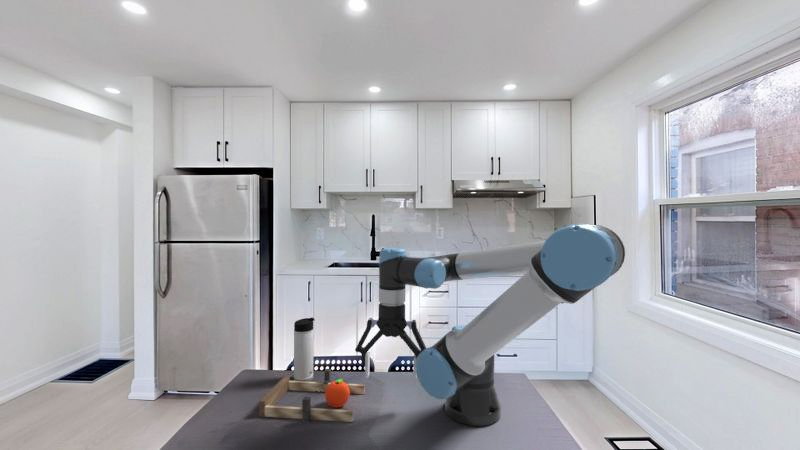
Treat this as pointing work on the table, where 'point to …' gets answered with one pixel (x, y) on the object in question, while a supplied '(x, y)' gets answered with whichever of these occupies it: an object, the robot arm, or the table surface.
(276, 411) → the lane
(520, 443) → the table surface
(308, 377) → the travel mug
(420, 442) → the table surface
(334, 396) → the clementine
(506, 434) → the table surface
